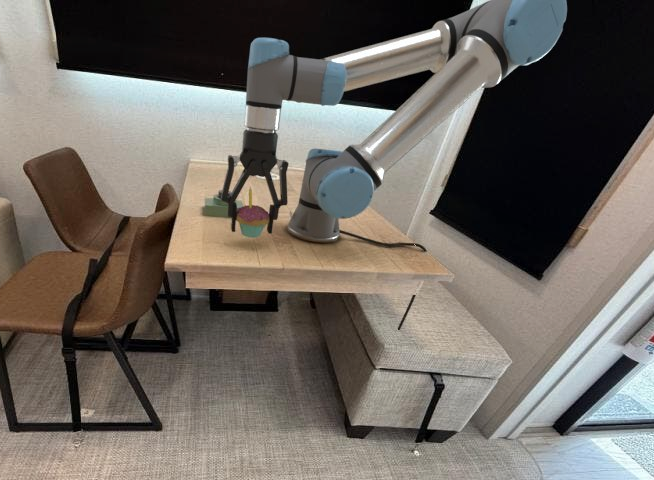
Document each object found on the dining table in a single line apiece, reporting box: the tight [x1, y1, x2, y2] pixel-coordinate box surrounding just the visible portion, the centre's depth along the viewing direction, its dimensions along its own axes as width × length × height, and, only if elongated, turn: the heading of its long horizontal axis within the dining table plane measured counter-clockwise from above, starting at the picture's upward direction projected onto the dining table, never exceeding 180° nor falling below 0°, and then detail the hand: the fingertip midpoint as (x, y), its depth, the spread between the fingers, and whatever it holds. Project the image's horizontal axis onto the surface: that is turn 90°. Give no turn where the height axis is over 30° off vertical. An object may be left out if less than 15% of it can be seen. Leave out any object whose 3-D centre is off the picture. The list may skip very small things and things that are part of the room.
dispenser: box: [204, 193, 244, 218], centre depth 103 cm, size 12×8×5 cm, turn 97°
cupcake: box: [236, 186, 270, 239], centre depth 79 cm, size 9×8×12 cm
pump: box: [217, 189, 232, 198], centre depth 101 cm, size 4×4×2 cm
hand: (251, 230), depth 82 cm, fingers closed on cupcake, 8 cm apart
